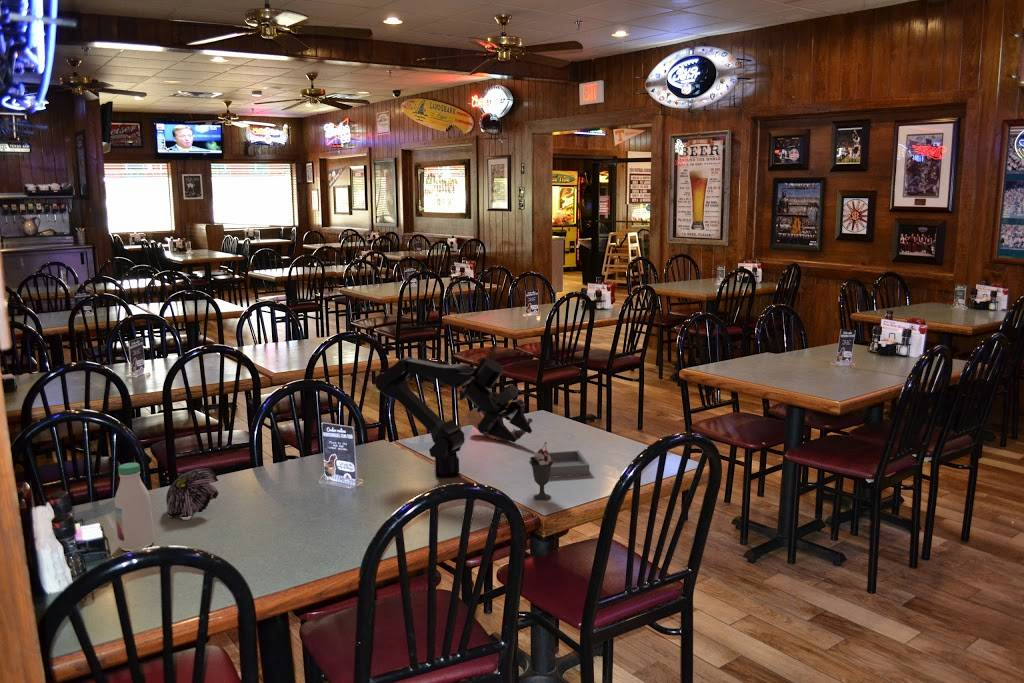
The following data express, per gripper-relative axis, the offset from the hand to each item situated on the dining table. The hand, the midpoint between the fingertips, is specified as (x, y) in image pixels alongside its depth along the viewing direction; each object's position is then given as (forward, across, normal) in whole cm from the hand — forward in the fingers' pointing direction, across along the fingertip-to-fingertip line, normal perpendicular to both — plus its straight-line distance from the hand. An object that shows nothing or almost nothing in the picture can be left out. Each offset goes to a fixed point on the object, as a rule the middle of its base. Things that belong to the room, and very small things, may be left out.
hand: (523, 436), depth 228 cm
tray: (+11, +19, +10) cm, 24 cm away
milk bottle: (-42, -75, +51) cm, 100 cm away
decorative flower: (-47, -53, +55) cm, 90 cm away
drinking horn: (-13, +36, +29) cm, 48 cm away
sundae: (+15, -4, +7) cm, 17 cm away
